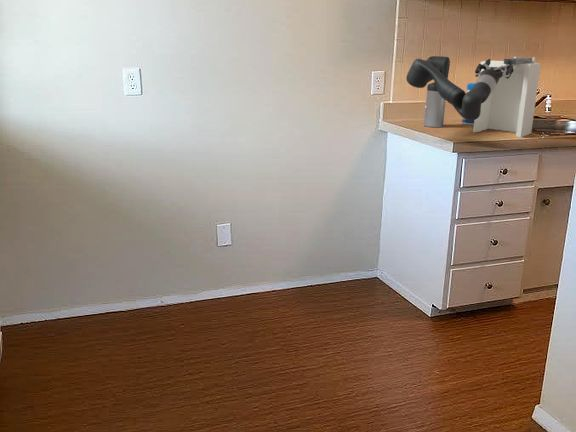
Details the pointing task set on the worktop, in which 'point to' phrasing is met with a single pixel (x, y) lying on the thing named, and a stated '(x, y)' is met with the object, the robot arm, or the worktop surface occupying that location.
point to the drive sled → (518, 60)
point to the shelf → (511, 100)
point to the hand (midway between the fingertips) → (499, 61)
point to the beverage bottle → (464, 121)
